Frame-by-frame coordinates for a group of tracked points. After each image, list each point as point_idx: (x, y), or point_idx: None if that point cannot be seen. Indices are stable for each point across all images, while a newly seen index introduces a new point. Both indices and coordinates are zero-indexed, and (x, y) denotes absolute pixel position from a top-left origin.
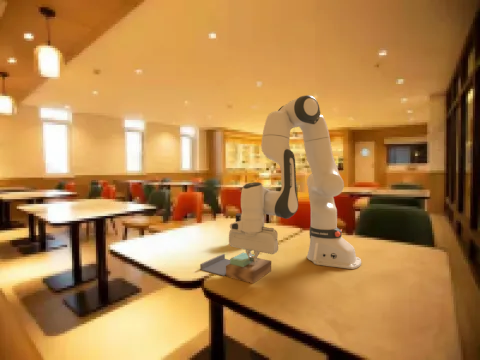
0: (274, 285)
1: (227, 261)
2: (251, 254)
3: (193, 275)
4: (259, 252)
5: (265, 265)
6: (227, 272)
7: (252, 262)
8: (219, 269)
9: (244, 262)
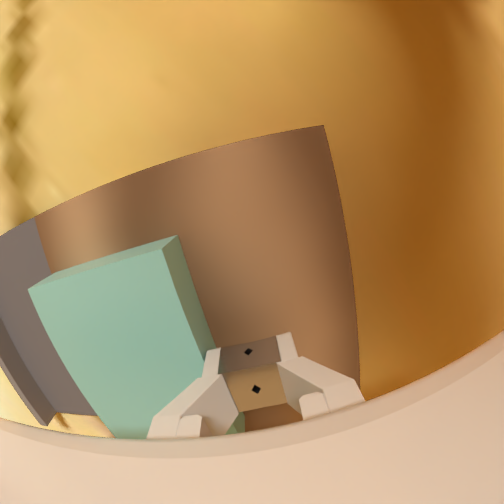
0: (433, 306)
1: (3, 269)
2: (214, 387)
3: None
4: (355, 388)
5: (345, 253)
6: None
7: (213, 310)
8: None
9: (239, 428)
